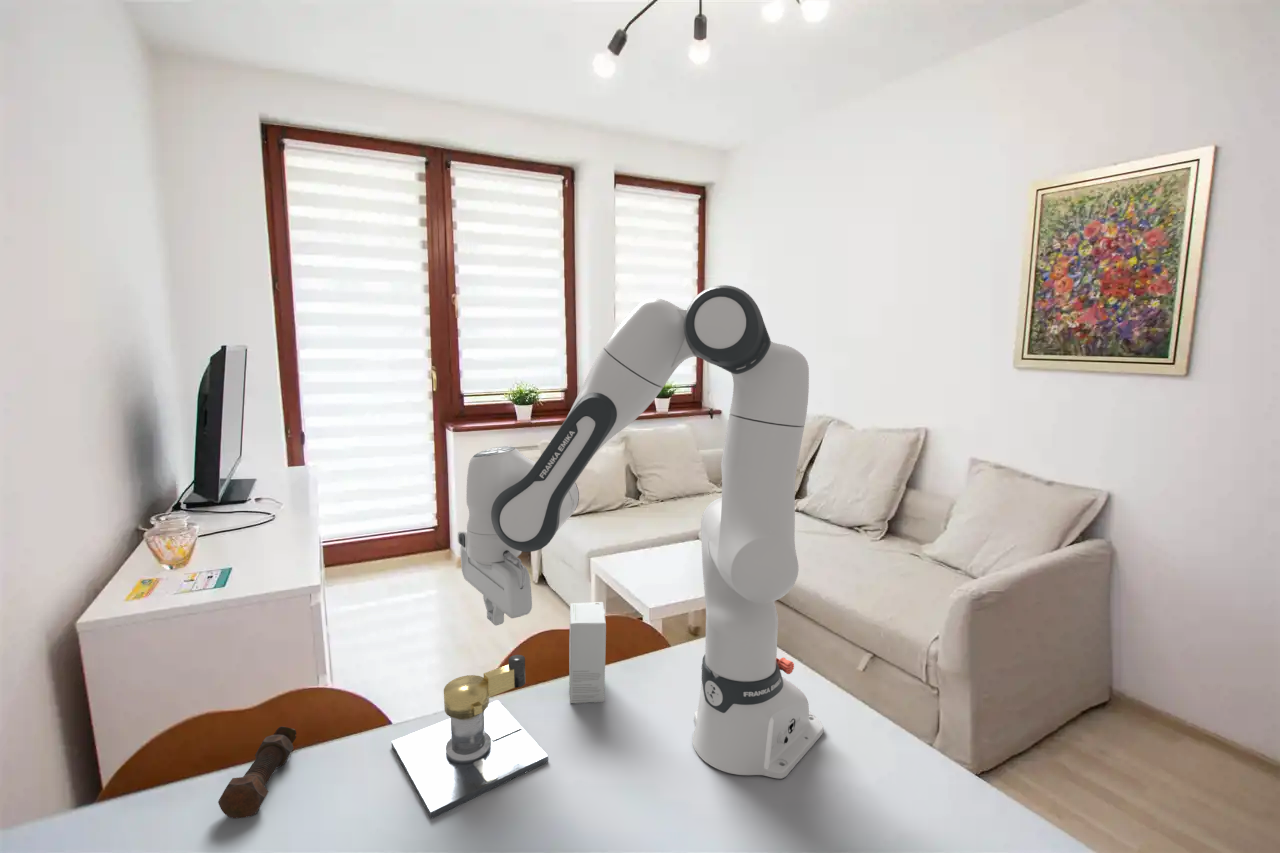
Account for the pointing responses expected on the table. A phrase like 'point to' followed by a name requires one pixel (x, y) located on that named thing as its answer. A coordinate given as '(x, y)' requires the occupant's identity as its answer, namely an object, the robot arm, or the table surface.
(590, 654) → the skincare box
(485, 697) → the brass faucet handle
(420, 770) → the slotted metal plate
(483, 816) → the table surface
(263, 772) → the bolt
